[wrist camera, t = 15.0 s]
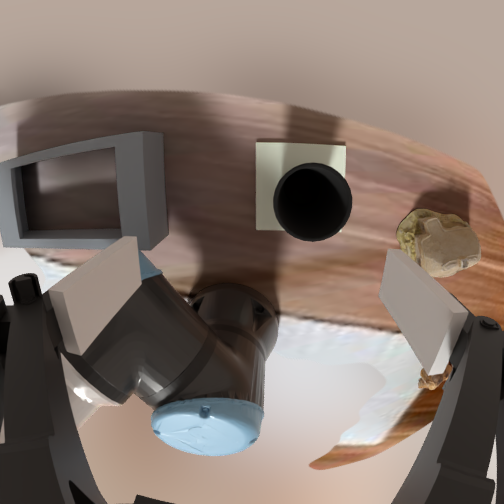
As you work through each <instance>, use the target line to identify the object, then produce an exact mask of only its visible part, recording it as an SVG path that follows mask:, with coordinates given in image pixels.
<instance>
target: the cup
mask: <svg viewBox="0 0 504 504" xmlns="http://www.w3.org/2000/svg"><path fill="white" fill-rule="evenodd" d="M273 209H274V213H275V216H276V219H277V220H278V222H279V224H280V226H281V227H282V228H283V229H284V230H285V231H286V232H287V233H289V234H290V235H292V236H293V237H295V238H297V239H300V240H303V241H312V242H314V241H322V240H325V239H327V238H330V237H332V236H333V235H335V234H336V233H338V232H339V231H340V230H341V229H342V228H343V227H344V225H345V224H346V222H347V220H348V219H349V217H350V213H351V209H352V195H351V190H350V187H349V185H348V183H347V181H346V180H345V178H344V177H343V176H342V175H341V174H340V173H339V172H338V171H336V170H335V169H334V168H332V167H330V166H328V165H325V164H322V163H314V162H312V163H303V164H301V165H298V166H295V167H293V168H292V169H291V170H289V171H288V172H286V173H285V174H284V176H283V177H282V178H281V179H280V180H279V182H278V184H277V186H276V188H275V192H274V196H273Z"/></svg>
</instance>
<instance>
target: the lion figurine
mask: <svg viewBox="0 0 504 504" xmlns="http://www.w3.org/2000/svg"><path fill="white" fill-rule="evenodd" d="M452 368H453V365H452V367H451V366H450V365H449V364H447V366H446V368H445V370H444V372H443V373H442V374H435V375H429V376H428V375H427V373H426V371H425V370H424V368H423V369H422V370H421V373H420V375H421V377H422V378H420V379H419V382H418V386H419V388H424V387H425V388H429V389H430V390H434V389H435V388H436V387H438V386H439V384H440V383H441V382H442V381H444V380H447V378H448V377H449V375H450V373H451V371H452Z"/></svg>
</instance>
